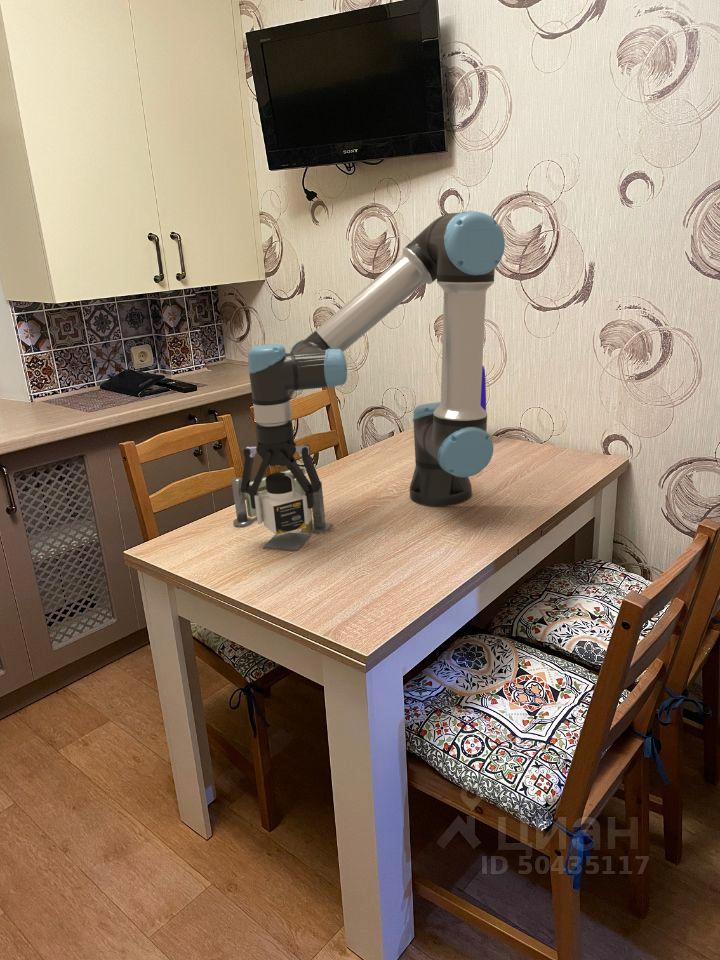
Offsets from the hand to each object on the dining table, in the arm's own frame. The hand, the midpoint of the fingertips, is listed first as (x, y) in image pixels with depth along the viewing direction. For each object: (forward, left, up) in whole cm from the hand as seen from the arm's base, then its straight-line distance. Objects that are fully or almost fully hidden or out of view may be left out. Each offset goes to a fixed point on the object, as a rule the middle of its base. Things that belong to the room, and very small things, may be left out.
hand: (284, 521), depth 152 cm
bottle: (-27, -77, -5) cm, 82 cm away
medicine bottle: (0, 0, -1) cm, 1 cm away
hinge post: (+15, -8, -5) cm, 18 cm away
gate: (+10, -16, -4) cm, 19 cm away
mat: (0, 0, -5) cm, 5 cm away
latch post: (-5, -8, -5) cm, 11 cm away
